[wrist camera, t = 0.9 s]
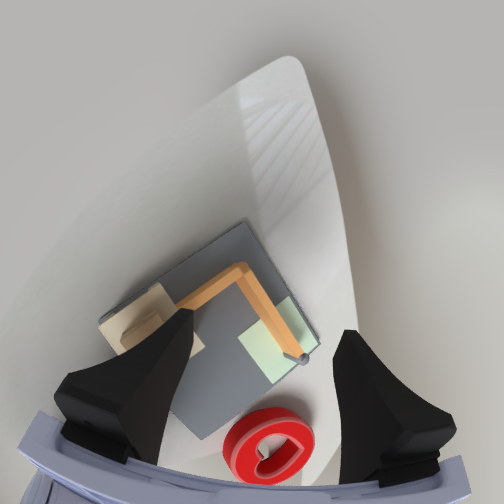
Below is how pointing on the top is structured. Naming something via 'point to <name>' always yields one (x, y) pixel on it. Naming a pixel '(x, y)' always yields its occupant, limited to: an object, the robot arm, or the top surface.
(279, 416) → the decorative ornament
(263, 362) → the end pad
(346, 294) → the top surface
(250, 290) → the rail
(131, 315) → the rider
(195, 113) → the top surface
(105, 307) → the top surface
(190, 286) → the mat
